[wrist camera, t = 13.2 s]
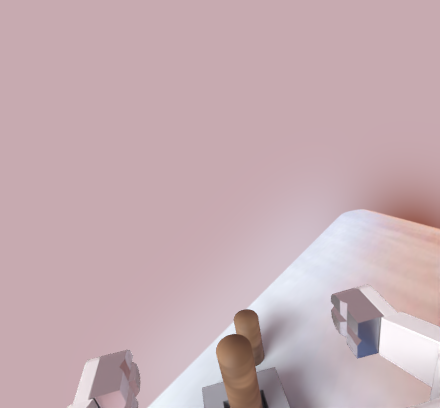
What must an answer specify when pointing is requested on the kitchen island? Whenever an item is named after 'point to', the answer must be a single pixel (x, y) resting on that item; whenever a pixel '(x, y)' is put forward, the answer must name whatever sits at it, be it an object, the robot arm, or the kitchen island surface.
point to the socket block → (268, 386)
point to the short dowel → (250, 332)
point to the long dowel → (239, 372)
